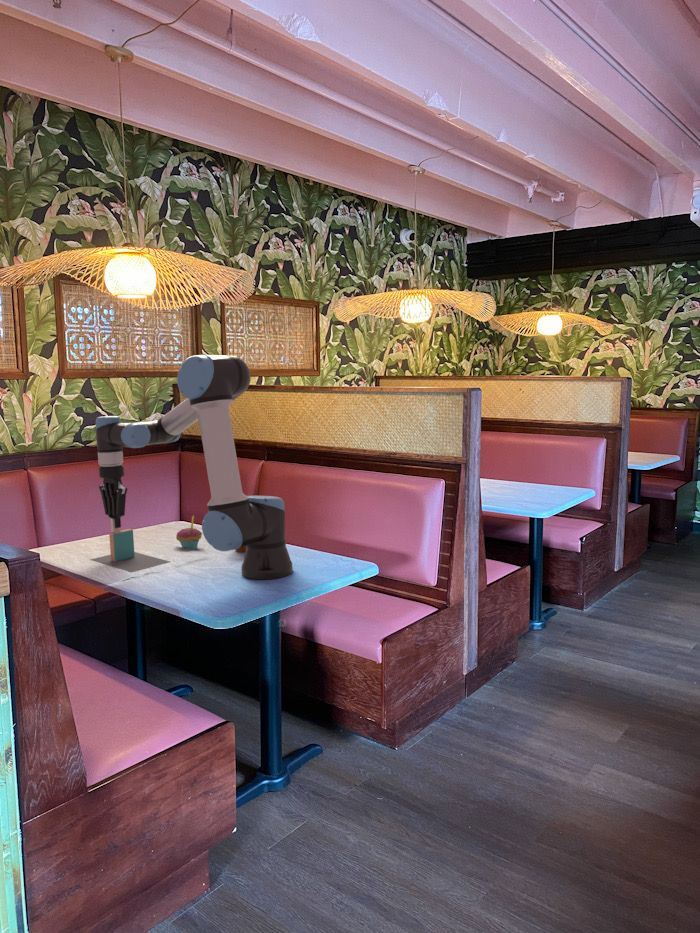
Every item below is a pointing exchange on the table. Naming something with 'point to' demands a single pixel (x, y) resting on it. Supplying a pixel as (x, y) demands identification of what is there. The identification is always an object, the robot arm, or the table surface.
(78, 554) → the table surface
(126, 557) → the tile
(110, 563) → the mat
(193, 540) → the cupcake
